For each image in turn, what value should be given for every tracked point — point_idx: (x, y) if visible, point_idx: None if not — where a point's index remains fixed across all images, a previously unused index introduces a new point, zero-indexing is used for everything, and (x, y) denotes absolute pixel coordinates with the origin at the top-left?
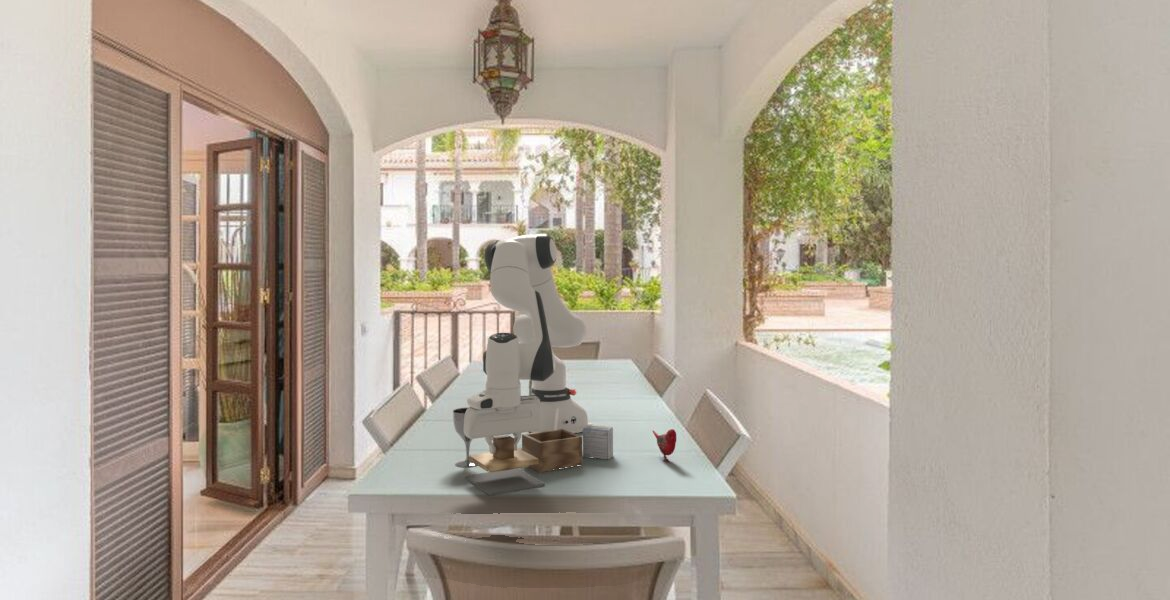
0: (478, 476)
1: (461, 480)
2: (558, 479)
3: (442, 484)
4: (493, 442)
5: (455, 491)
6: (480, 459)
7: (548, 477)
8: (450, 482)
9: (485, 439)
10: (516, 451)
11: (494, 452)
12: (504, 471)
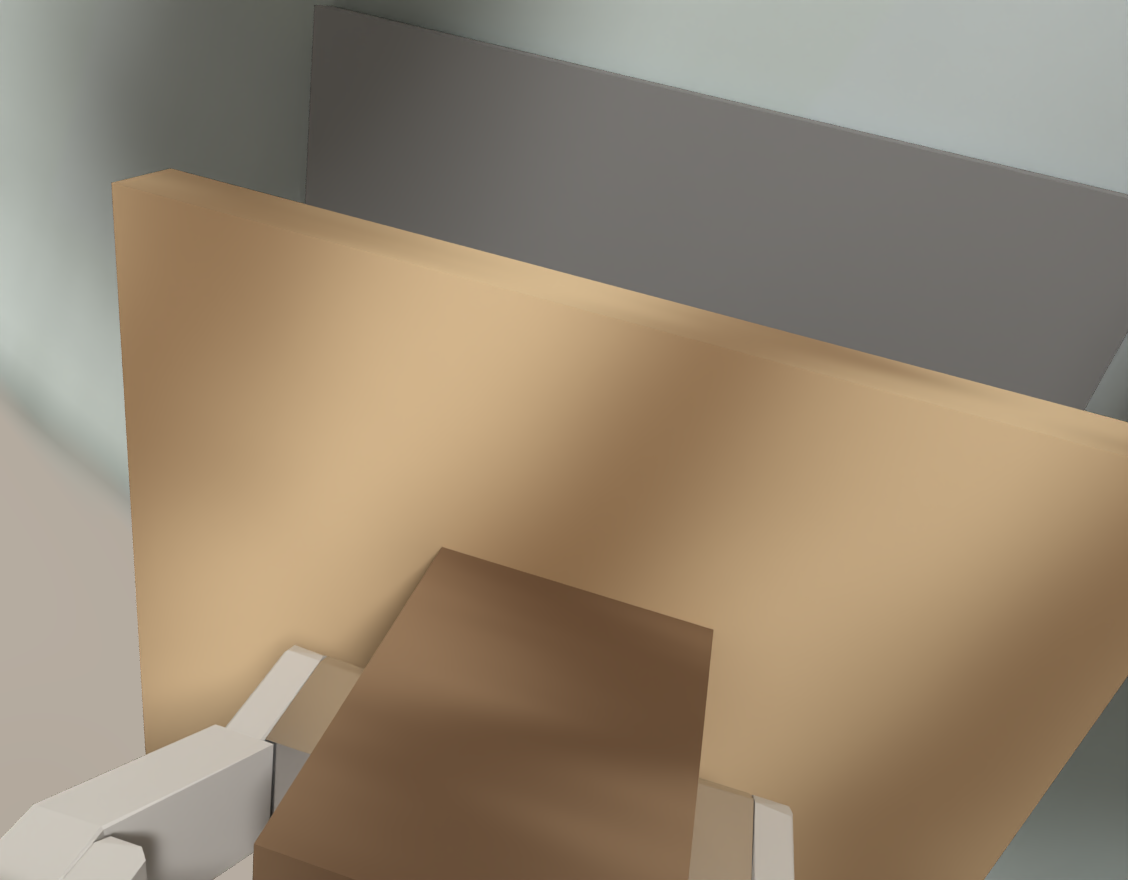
0: (452, 172)
1: (260, 65)
2: (1120, 823)
3: (19, 45)
4: (324, 745)
5: (85, 362)
6: (193, 537)
7: (1118, 718)
8: (120, 40)
9: (31, 819)
10: (983, 626)
11: None
12: (871, 241)
